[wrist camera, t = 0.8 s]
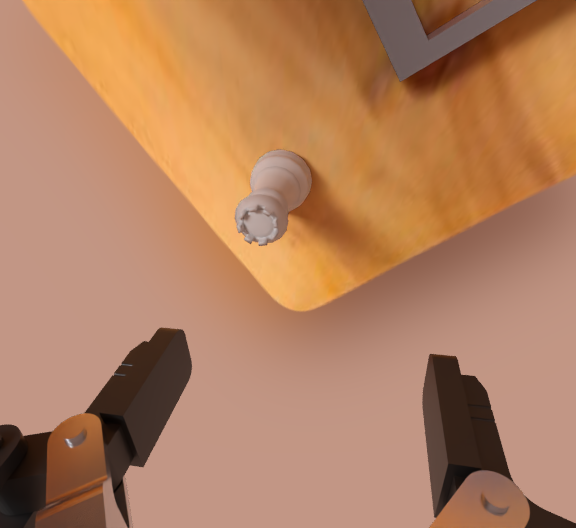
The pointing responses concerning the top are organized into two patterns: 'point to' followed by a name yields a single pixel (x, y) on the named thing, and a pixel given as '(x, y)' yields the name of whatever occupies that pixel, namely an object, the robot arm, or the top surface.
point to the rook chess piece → (272, 196)
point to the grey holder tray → (426, 49)
